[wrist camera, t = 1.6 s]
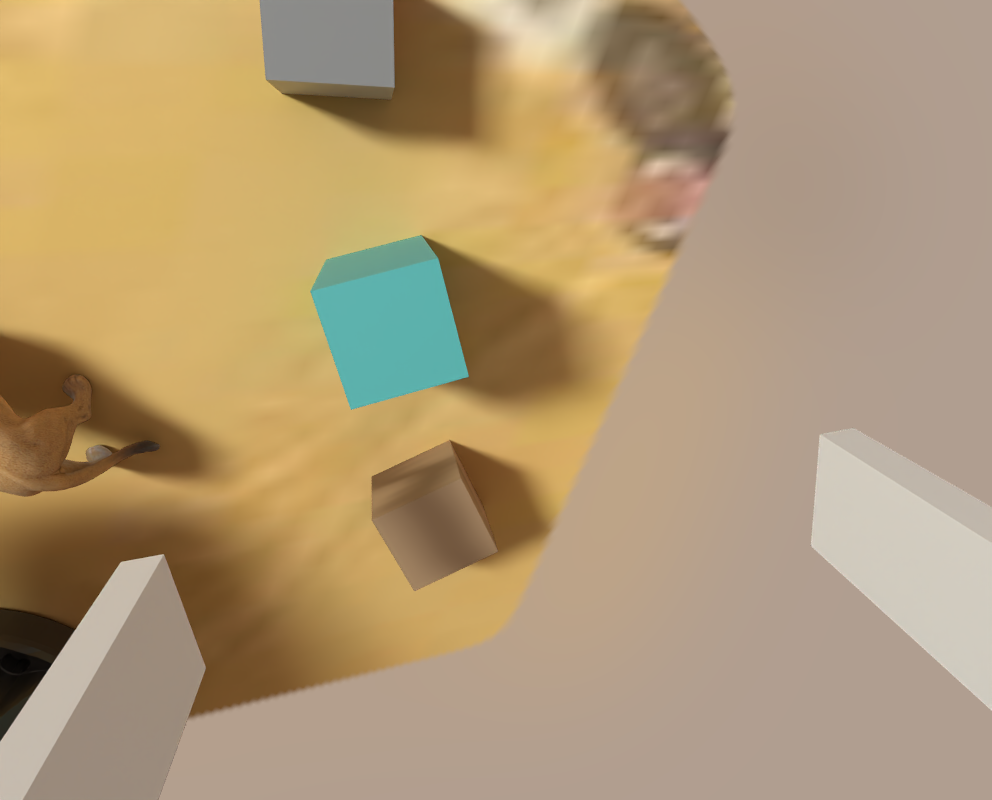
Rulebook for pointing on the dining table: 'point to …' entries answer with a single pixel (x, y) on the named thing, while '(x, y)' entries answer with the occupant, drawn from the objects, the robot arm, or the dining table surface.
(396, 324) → the teal block
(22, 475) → the lion figurine
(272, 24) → the grey block
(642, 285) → the dining table surface
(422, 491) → the walnut block
